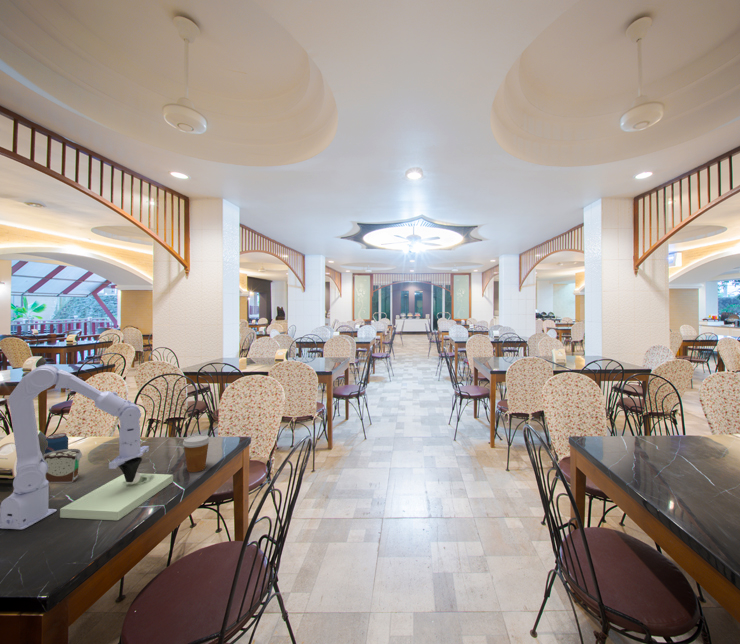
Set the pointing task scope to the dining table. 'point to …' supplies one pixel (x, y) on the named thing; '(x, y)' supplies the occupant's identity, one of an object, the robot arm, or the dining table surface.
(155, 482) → the putting deck
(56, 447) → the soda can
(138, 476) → the ball
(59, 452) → the food container
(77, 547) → the dining table surface
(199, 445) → the disposable coffee cup
